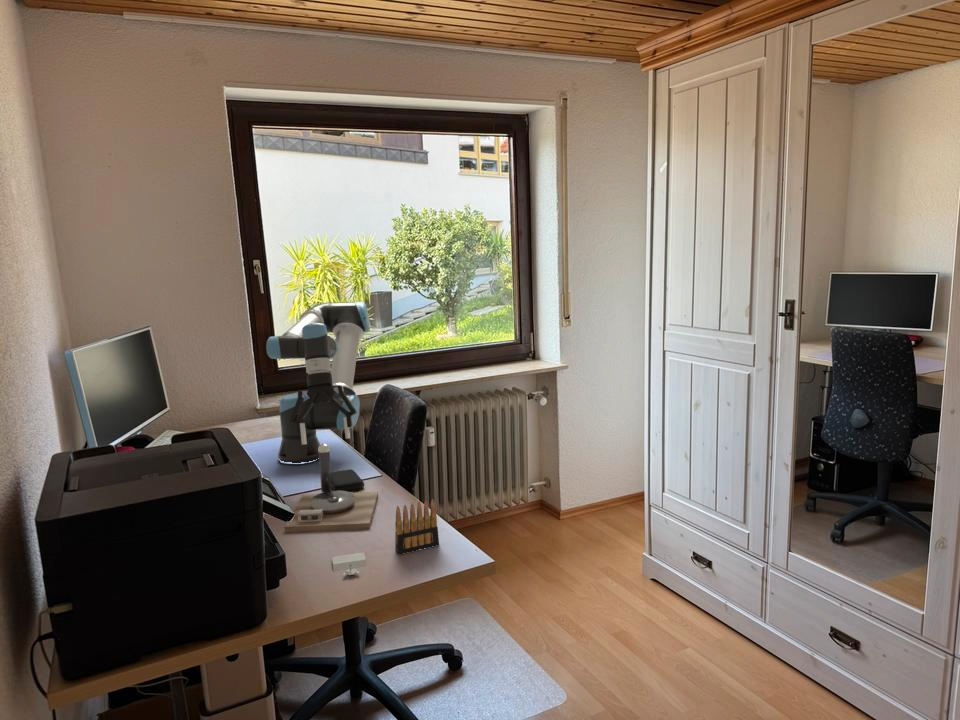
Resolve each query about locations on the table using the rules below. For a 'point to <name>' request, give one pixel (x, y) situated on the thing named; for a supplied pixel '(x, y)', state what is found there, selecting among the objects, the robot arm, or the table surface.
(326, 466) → the grey rod on disc
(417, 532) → the ammunition clip
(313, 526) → the level stand
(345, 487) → the carrying case or bag
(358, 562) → the white sign holder
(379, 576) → the table surface
